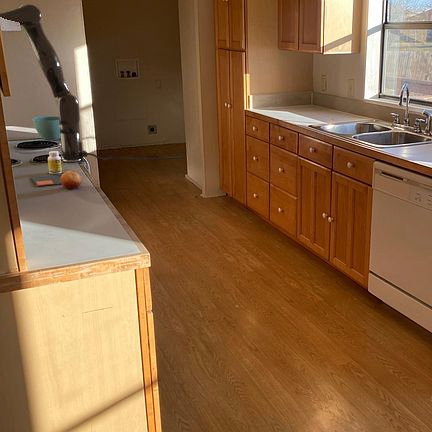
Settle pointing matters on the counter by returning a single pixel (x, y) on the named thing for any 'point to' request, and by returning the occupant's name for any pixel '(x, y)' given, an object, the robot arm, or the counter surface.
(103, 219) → the counter surface
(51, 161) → the supplement bottle
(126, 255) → the counter surface
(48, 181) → the corner mat
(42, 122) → the plant pot
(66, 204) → the counter surface
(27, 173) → the counter surface
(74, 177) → the fruit
